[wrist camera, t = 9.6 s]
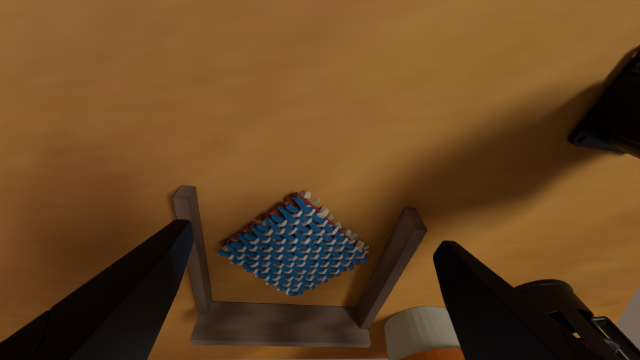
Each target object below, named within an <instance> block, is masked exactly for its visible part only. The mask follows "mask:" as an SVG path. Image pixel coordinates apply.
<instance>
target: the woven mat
mask: <svg viewBox="0 0 640 360" xmlns="http://www.w3.org/2000/svg"><path fill="white" fill-rule="evenodd" d="M310 195H311V192H308V191H301V192H300V193H298V192H296V193H295V194H294V197H292V198H291V197H290V196H288V197H286V199H287V200H288V201H286V202H285V203H284V202H283V201H282V202H281V203H279V207H277V208H276V207H274V208H273V209H272V212H270V213H269V212H267V213H266V214H265V215H260V216H259V217H258V221H257V222H255V221H254V222H252V224H251V226H249V225H247V226H246V227H245V230H244V231H243V230H240V231H239V233H238V235H236V234H234V235H233V236H232V239H230V238H229V239H227V240H226V241H222V242H220V244H221V245H224V246H223V247H222V249H223V250H222V249H221V250H219V252H218V254H220V255H221V256H226V257H227V259H230V260H231V262H230V263H231V264H233V263H236V264H237V265H243V266H244V268H245V269H244V271H245V272H246V271H247V272H248V271H250V272H251V273H254V274H256V275H255V277H257V276H258V277H259V278H261V279H262V280H266V281H267V282H266V284H267V285H268V284H271V285H273V286H278V289H277V290H278V291H279V290H281V291H283V292H286V294H287V295H288V294H289V295H290V296H296V295H298V293H299V294H300V295H302V294H303V291H302V290H308V289H310V288H309V287H311V288H312V289H313V288H315V287H316V286H315V284H320V283H322V282H321V281H324V283H325V282H327V281H328V280H327V278H332V277H334V275H335V274H336V275H337V277H338V276H340V275H341V274H340V271H341V272H345V271H346V270H347V269H346V266H348V268H349V269H350V270H353V269H354V267H353V265H359V264H361V263H360V261H359V260H361V259H362V261H363V262H364V263H367V262H368V260H367V258H369V257H368V255H367V254H366V253H369V252H368V251H367V250H366V249H368V248H369V246H368V245H367V246H364V244H365V243H364V242H363V241H361V240H358V242H356V241H355V240H354V238H356V237H357V236H358V235H357V234H355V233H353V234H351V230H350V229H347V228H344V229H342V230H340V229H339V228H341V224H340V223H339V222H338V221H337V222H335V223H332V222H331V220H332V219H334V217H333V216H332V215H330V214H329V215H328V216H327V214H328V212H329V210H328V208H326V207H323V206H322V208H321V209H320V208H316V207H315V205H316V204H318V203H319V202H320V200H319V199H318V198H317V199H315V200H313V201H312V202H309V201H307V200H306V199H310ZM261 232H262V233H261ZM250 234H252V235H250ZM238 242H240V243H238ZM241 243H242V244H241ZM363 246H364V247H363ZM230 251H231V252H230ZM264 273H266V274H264ZM283 286H284V287H283ZM300 288H301V289H302V290H301V289H300ZM293 291H295V292H293Z"/></svg>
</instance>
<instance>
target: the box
mask: <svg viewBox="0 0 640 360" xmlns="http://www.w3.org/2000/svg"><path fill="white" fill-rule="evenodd" d="M173 202H174V206H175V211H176V215H177V219H188V220H190V221H191V223H192V228H193V234H194V242H193V246H192V249H191V252H190V255H189V258H188V261H187V264H188V269H189V273H190V278H191V282H192V287H193V291H194V296H195V300H196V305H197V309H198V314H199V315H198V318H197V321H196V324H195V327H194V330H193V333H192V336H191V338H190V342H191V345H245V346H301V347H357V348H369V346H370V345H371V341H370V336H369V330H368V329H369V327H370V326H371V324H372V322H373V321H374V319H375V317H376V316H377V314H378V312H379V311H380V309H381V307H382V306H383V304H384V302H385V301H386V299H387V297H388V296H389V294H390V292H391V291H392V289H393V287H394V286H395V284H396V282H397V281H398V279H399V277H400V276H401V274H402V272H403V271H404V269H405V267H406V266H407V264H408V262H409V261H410V259H411V257H412V256H413V254H414V252H415V251H416V249H417V247H418V246H419V244H420V242H421V241H422V239H423V237H424V236H425V234H426V232H427V229H426V227H425V225H424V223H423V222H422V220H421V218H420V216H419V214H418V212H417V210H416V209H410V208H405V209H404V211H403V213H402V215H401V217H400V219H399V221H398V223H397V225H396V227H395V229H394V231H393V233H392V235H391V237H390V239H389V241H388V244H387V246H386V248H385V250H384V252H383V254H382V256H381V258H380V260H379V262H378V264H377V266H376V268H375V270H374V272H373V274H372V276H371V278H370V280H369V282H368V284H367V287H366V289H365V291H364V293H363V295H362V297H361V299H360V301H359V303H358V305H357V307H335V306H311V305H286V304H262V303H237V302H213V301H212V294H211V287H210V281H209V274H208V267H207V261H206V254H205V247H204V241H203V234H202V227H201V221H200V214H199V207H198V201H197V194H196V187H192V186H182V185H181V187H180V188H179V190H178V191H177V193H176V194H175V196H174V197H173Z"/></svg>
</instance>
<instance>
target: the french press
mask: <svg viewBox="0 0 640 360" xmlns="http://www.w3.org/2000/svg"><path fill="white" fill-rule="evenodd" d="M515 289H516V290H517V291H518V292H520V293H521V294H522V295H523V296H525V297H526V298H527V299H528V300H530V301H531V302H532V303H534V304H535V305H536V306H537V307H539V308H540V309H541V310H542V311H544V312H545V313H546V314H547V315H549V316H550V317H551V318H552V319H554V320H555V321H556V322H558V323H559V324H560V326H563V327H564V328H565V329H566V330H568V331H569V332H570V333H571V334H574V333H577V334H578V335H579V336H580V337H581V338H578V339H579V340H580V341H582V342H583V343H584V344H586V345H587V346H588V347H589V348H591V349H592V350H593V351H595V352H596V353H597V354H599V355H600V356H601V357H603V358H604V359H605V360H627V359H626V358H625V357H624V356H623V355H622V353H621V352H620V351H619V349H620V350H621V351H622V352H623V353H624V354H625V355H626V357H627V358H628V359H629V360H640V350H639V349H638V348H637V347H636V346H635V345H634V344H633V343H632V342H631V341H630V340H629V339H628V338H627V337H626V336H625V335H624V334H623V333H622V332H621V331H620V330H619V328H618V327H617V326H616V325H615V324H614V323H613V322H612V321H611V320H610V319H609V318H607V317H605V316H601V317H594V314H593V313H592V312H591V311H590V310H589V309H588V307H587V306H586V305H585V304H584V303H583V302H582V301H581V300H580V299H579V298H578V297H577V296H576V295H575V294H574V293H573V289H572V288H571V286H570V285H569V284H567V283H566V282H564V281H560V280H540V281H535V282H531V283H527V284H524V285H521V286H518V287H516V288H515ZM597 326H598V327H600V328H601V329H602V330H603V331H604V333H605V334H606V335H607V336H608V337H609V338H610V339H609V338H607V337H606V336H605V334H604V333H603V332H602V331H601V330H600V329H599V328H598V327H597ZM611 340H612V341H613V342H614V343H613V342H612V341H611Z"/></svg>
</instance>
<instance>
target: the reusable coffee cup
mask: <svg viewBox="0 0 640 360" xmlns="http://www.w3.org/2000/svg"><path fill="white" fill-rule="evenodd" d="M384 330H385V338H386V346H387V353H388V360H465V358H464V356H463V353H462V350H461V347H460V345H459V342H458V339H457V336H456V333H455V331H454V328H453V325H452V322H451V320H450V317H449V314H448V311H446V310H445V309H443V308H439V307H433V306H422V307H415V308H410V309H407V310H404V311H401V312H399V313H397V314H395V315H393V316H392V317H390V318H389V319H388V320H387V321H386V323H385V325H384Z"/></svg>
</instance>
